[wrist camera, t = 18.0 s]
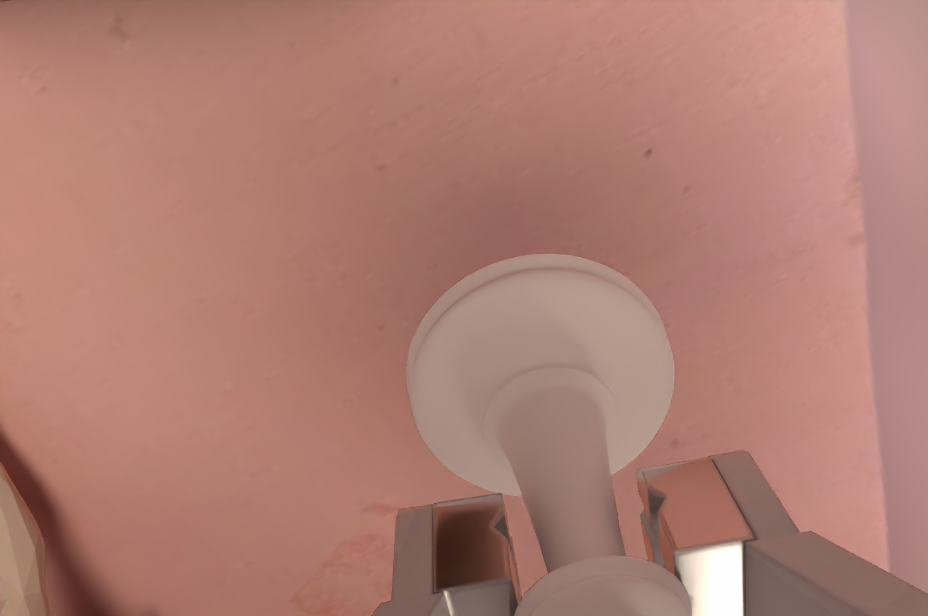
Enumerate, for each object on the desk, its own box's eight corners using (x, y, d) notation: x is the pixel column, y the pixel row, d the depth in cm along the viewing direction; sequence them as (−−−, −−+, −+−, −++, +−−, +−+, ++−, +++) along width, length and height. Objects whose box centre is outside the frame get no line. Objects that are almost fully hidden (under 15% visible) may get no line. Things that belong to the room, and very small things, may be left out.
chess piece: (379, 279, 12) (258, 1126, 4) (661, 228, 12) (1288, 988, 3) (434, 494, 15) (445, 1345, 6) (673, 454, 14) (1068, 1269, 6)
